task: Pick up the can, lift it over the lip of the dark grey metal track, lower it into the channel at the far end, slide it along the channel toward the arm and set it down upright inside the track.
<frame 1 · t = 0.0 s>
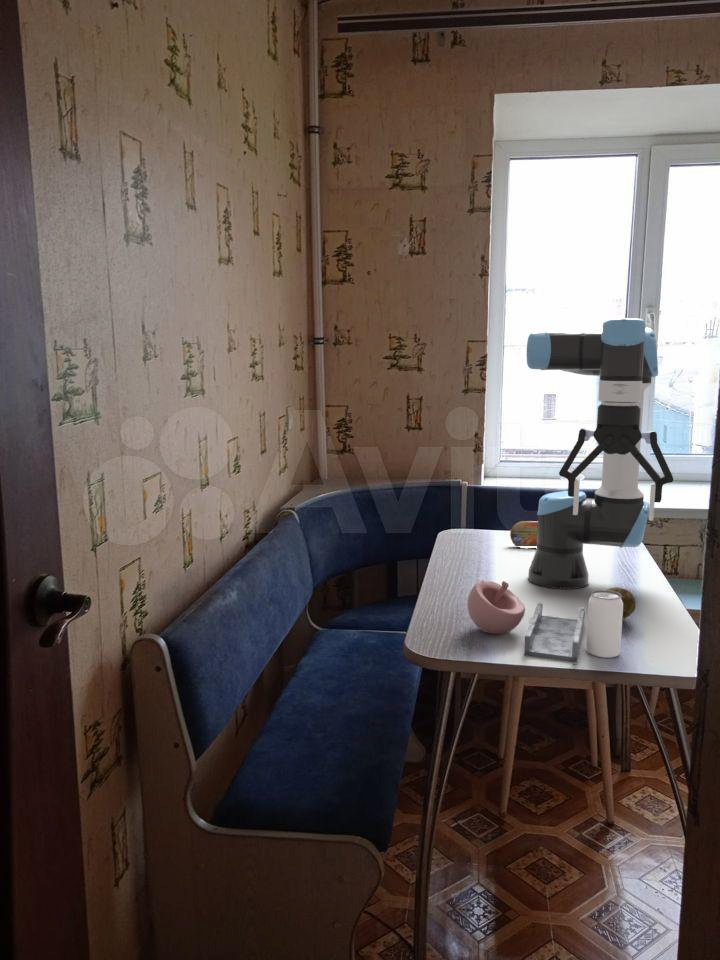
hand: (612, 516, 145), 28 cm above the table, tool pointing down, fingers open, 13 cm apart
potato: (611, 620, 171), on the table
track: (555, 639, 158), on the table
mortar and pestle: (495, 633, 162), on the table
tin: (534, 548, 233), on the table
can: (602, 653, 151), on the table
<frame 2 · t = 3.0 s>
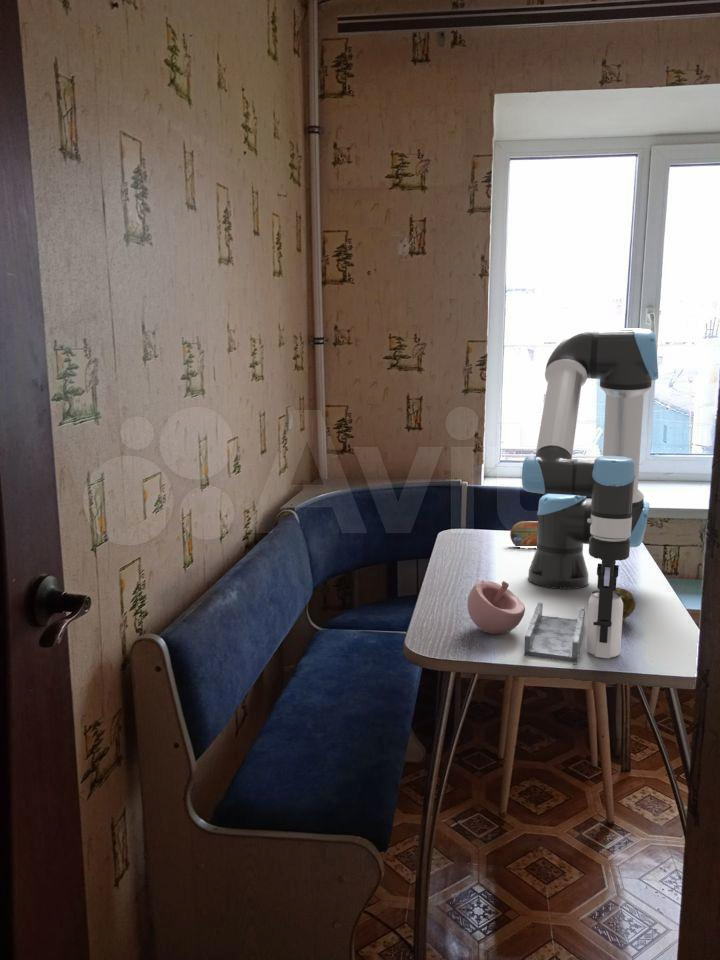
hand: (603, 650, 151), 0 cm above the table, tool pointing down, fingers closed on can, 6 cm apart
can: (602, 653, 151), on the table, touching gripper
everything else where it was.
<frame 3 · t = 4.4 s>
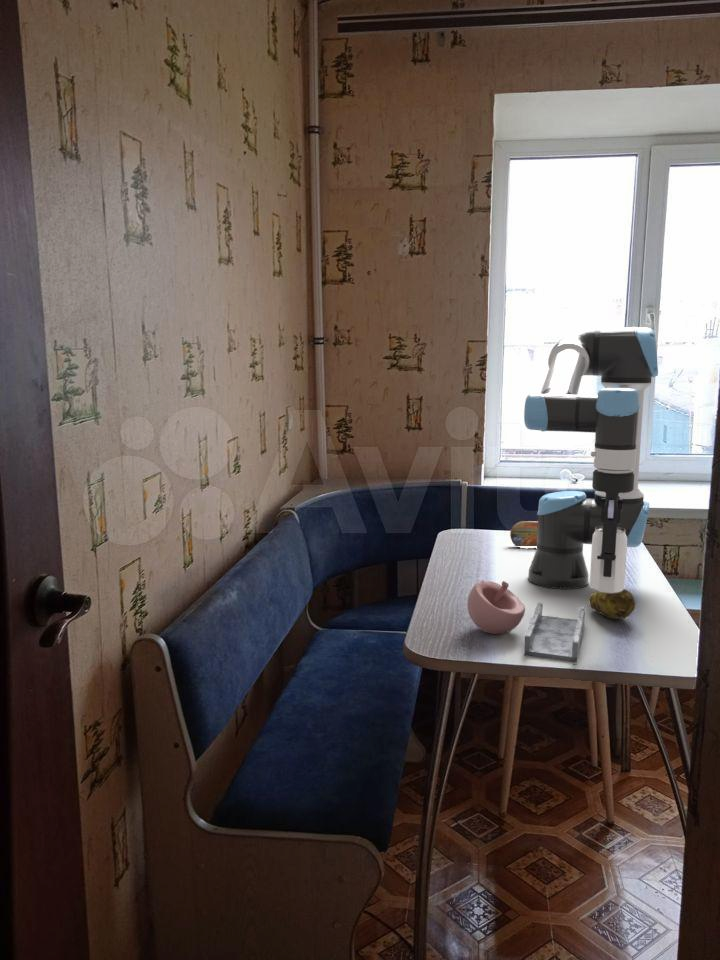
hand: (606, 586, 149), 14 cm above the table, tool pointing down, fingers closed on can, 6 cm apart
can: (606, 589, 150), point 13 cm above the table, touching gripper
everything else where it was.
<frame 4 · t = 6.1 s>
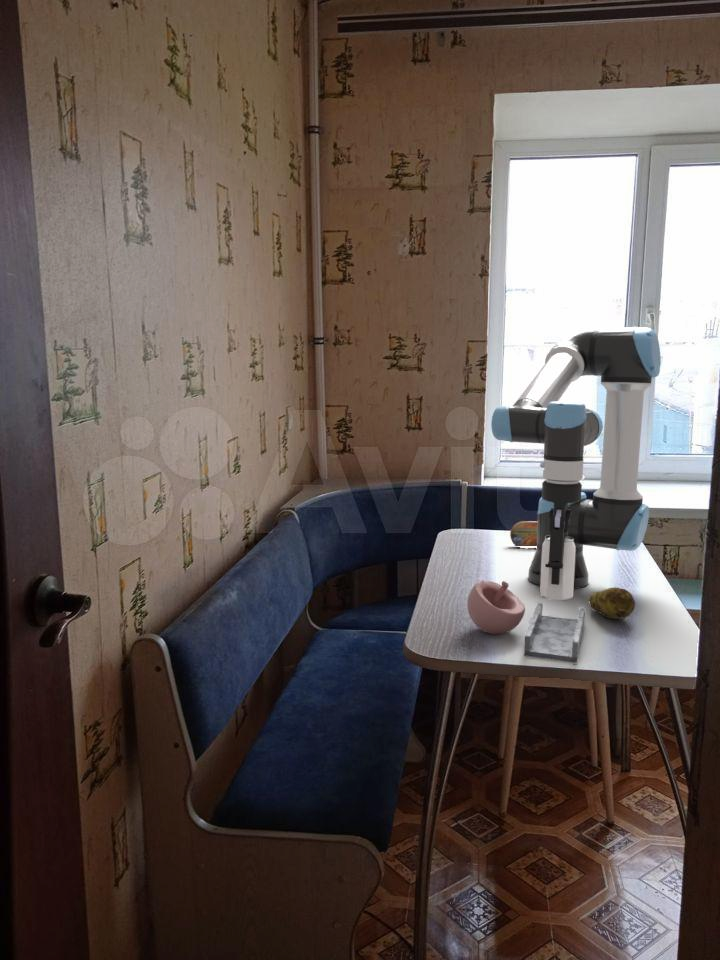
hand: (556, 593, 154), 11 cm above the table, tool pointing down, fingers closed on can, 6 cm apart
can: (556, 597, 154), point 10 cm above the table, touching gripper
everything else where it was.
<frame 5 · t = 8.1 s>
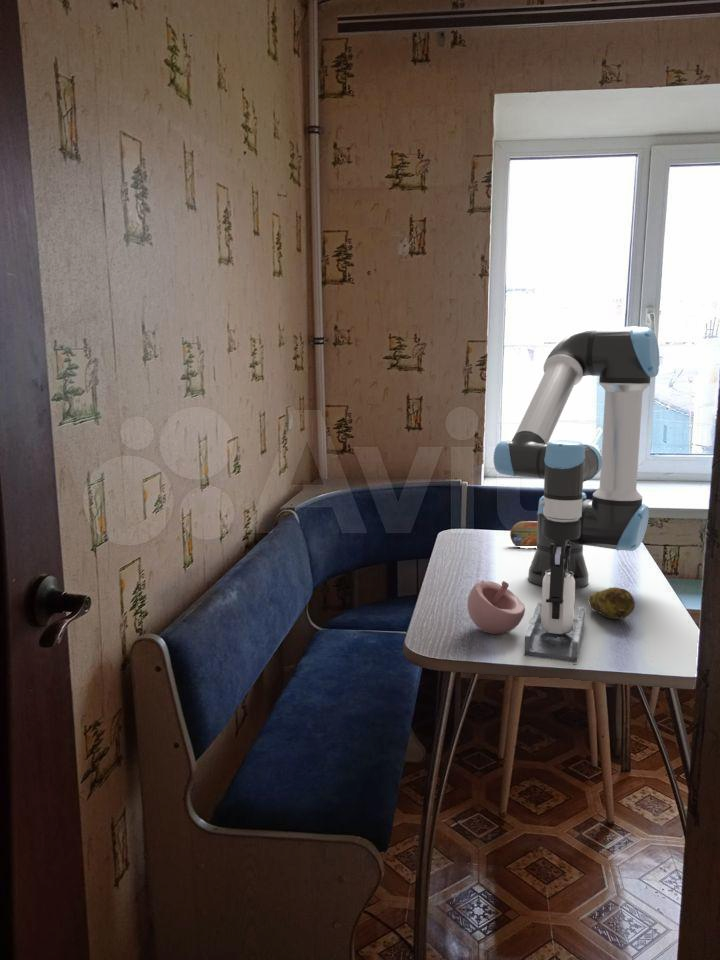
hand: (556, 626, 158), 3 cm above the table, tool pointing down, fingers closed on can, 6 cm apart
can: (556, 629, 158), point 2 cm above the table, touching gripper
everything else where it was.
when the fingers open (2 cm above the table, at t = 9.7 s): can stays where it is, resting on track.
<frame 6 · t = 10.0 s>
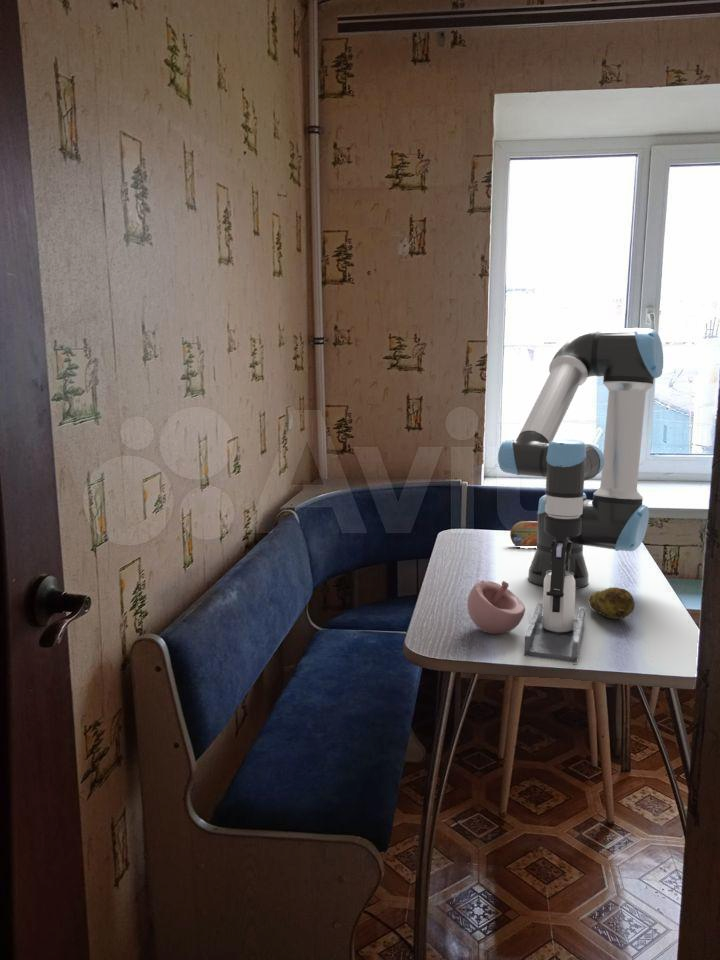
hand: (558, 617, 161), 3 cm above the table, tool pointing down, fingers open, 11 cm apart
can: (557, 629, 162), point 1 cm above the table, touching track
everything else where it was.
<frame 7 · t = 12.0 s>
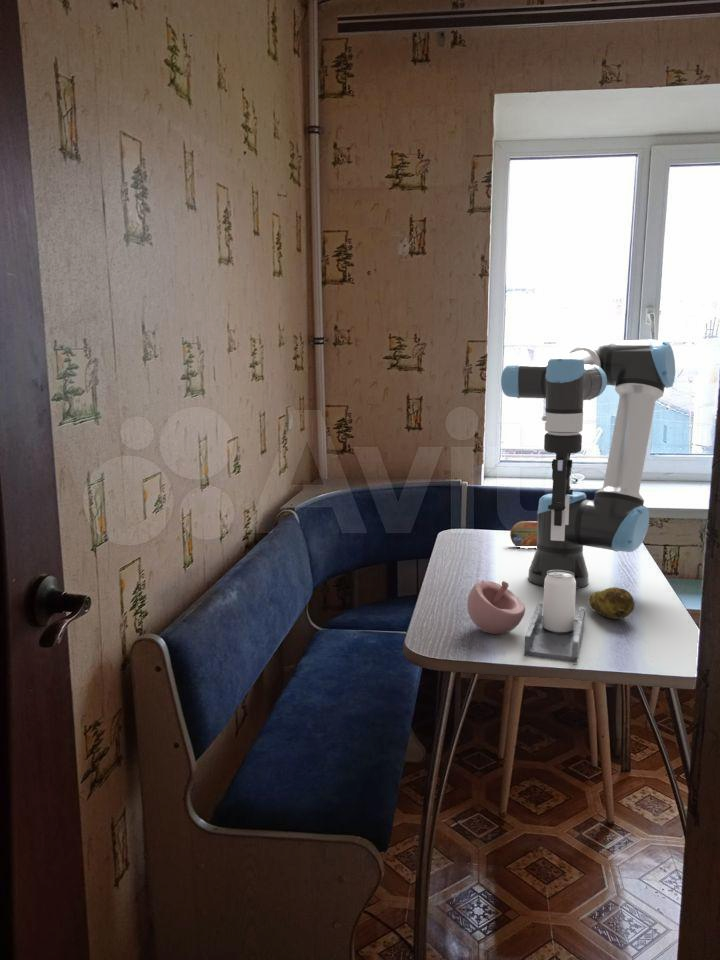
hand: (559, 532, 162), 21 cm above the table, tool pointing down, fingers open, 13 cm apart
nothing on the table moved.
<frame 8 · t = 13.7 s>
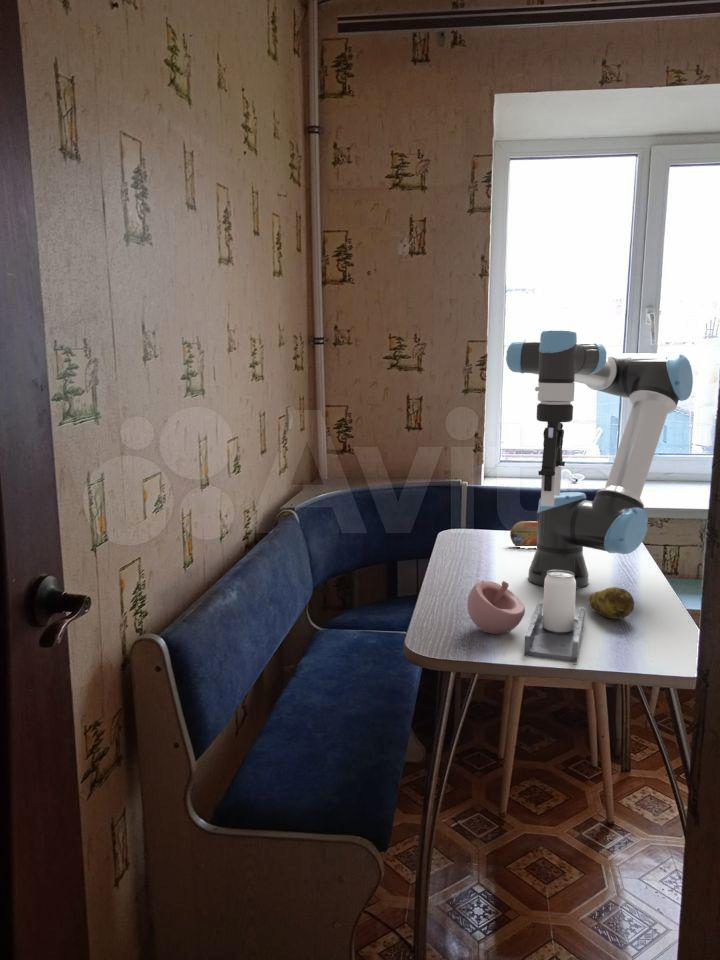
hand: (550, 500, 167), 27 cm above the table, tool pointing down, fingers open, 13 cm apart
nothing on the table moved.
at the end: can inside the target area on the track (0.5 cm from its centre), point 0.8 cm above the track's base; can tilted 0°; the gripper is holding nothing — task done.
